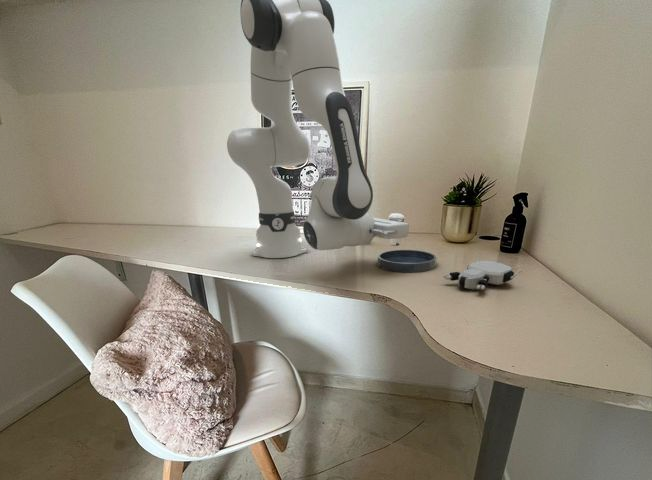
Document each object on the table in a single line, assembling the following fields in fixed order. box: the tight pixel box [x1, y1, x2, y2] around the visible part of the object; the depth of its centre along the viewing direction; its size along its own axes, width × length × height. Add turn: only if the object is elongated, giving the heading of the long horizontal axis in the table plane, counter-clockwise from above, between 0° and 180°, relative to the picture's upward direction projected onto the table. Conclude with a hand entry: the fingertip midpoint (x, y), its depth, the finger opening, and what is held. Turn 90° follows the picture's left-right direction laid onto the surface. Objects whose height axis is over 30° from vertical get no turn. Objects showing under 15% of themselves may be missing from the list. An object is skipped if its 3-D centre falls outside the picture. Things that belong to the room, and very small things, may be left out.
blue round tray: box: [377, 249, 438, 273], centre depth 101 cm, size 17×17×2 cm
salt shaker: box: [388, 212, 405, 247], centre depth 98 cm, size 4×5×10 cm
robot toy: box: [443, 259, 523, 291], centre depth 82 cm, size 12×4×15 cm
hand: (398, 224), depth 98 cm, fingers closed on salt shaker, 4 cm apart
